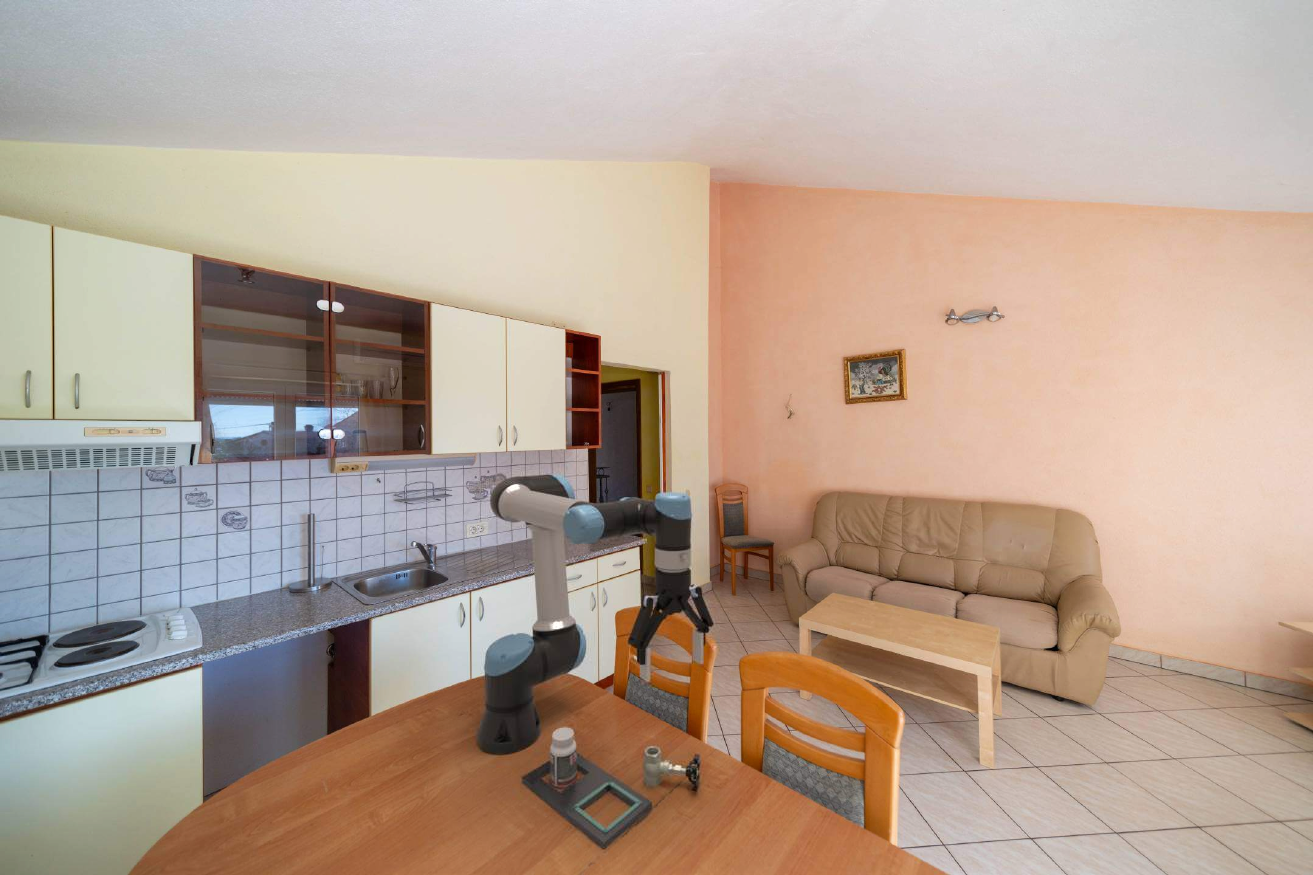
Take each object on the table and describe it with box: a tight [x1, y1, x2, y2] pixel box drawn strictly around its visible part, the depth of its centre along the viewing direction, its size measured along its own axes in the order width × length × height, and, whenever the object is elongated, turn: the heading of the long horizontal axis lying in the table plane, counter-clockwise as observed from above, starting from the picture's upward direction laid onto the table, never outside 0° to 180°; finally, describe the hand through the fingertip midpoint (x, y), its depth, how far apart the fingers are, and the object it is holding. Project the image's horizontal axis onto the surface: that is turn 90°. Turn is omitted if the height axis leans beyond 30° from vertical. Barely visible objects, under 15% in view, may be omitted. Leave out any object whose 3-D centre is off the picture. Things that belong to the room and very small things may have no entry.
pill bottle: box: [549, 726, 578, 789], centre depth 104 cm, size 6×6×10 cm
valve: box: [642, 745, 701, 793], centre depth 102 cm, size 7×7×12 cm
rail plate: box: [521, 752, 653, 850], centre depth 99 cm, size 26×13×1 cm, turn 49°
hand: (672, 670), depth 99 cm, fingers open, 13 cm apart
